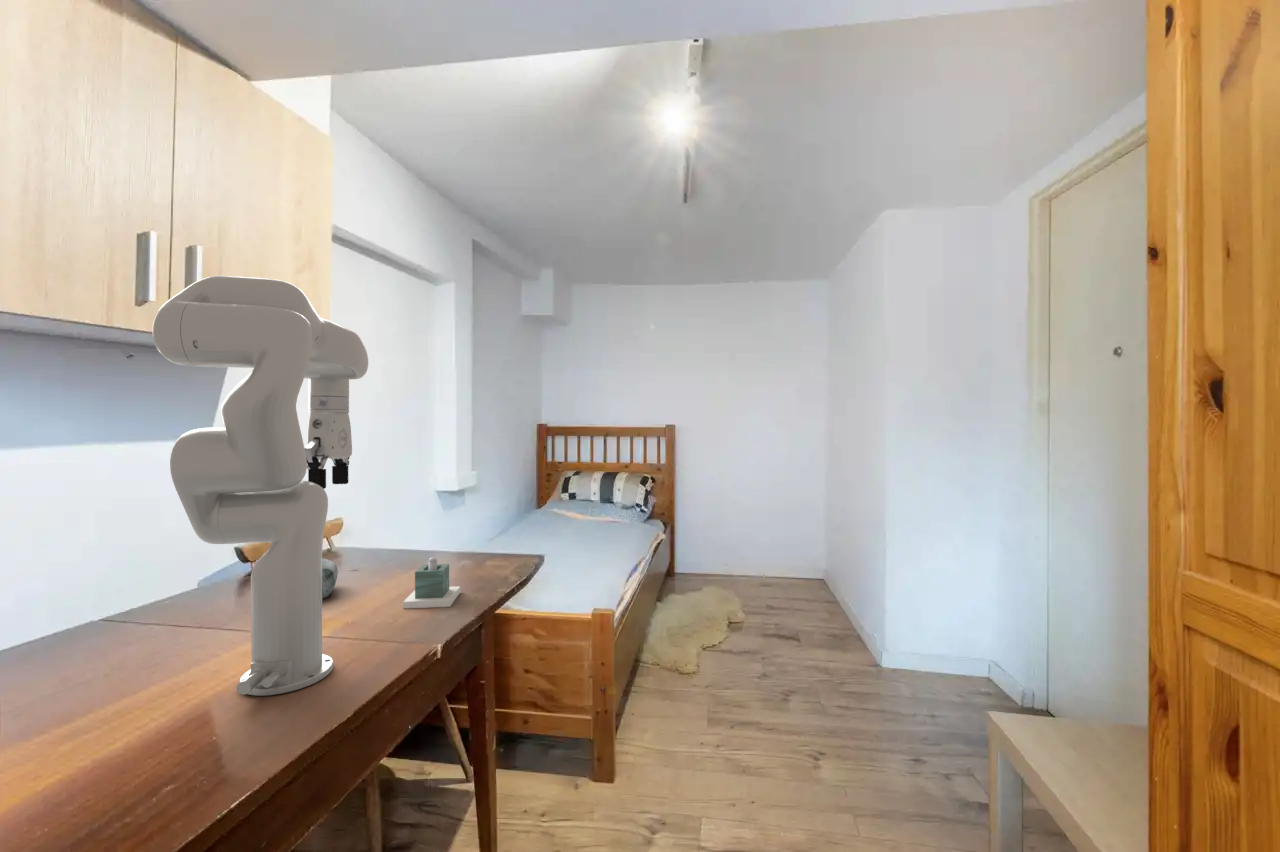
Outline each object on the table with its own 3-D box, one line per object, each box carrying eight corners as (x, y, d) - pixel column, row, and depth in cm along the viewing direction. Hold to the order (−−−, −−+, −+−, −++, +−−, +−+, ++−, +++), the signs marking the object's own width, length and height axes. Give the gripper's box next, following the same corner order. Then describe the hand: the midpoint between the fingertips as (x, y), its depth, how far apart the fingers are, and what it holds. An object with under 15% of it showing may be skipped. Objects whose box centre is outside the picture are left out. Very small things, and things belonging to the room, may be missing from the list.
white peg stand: (450, 606, 118) (449, 562, 118) (403, 608, 117) (402, 563, 117) (460, 592, 128) (459, 551, 128) (416, 594, 127) (416, 552, 127)
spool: (345, 585, 124) (323, 548, 124) (302, 610, 119) (279, 572, 119) (349, 583, 136) (329, 550, 136) (310, 606, 131) (289, 572, 131)
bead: (442, 597, 120) (442, 571, 120) (415, 598, 119) (414, 571, 119) (449, 589, 126) (449, 564, 126) (422, 590, 125) (422, 564, 125)
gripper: (326, 403, 105) (327, 490, 105) (365, 407, 122) (365, 482, 122) (286, 403, 104) (287, 491, 104) (330, 407, 122) (331, 482, 121)
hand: (329, 486), depth 113 cm, fingers open, 9 cm apart
